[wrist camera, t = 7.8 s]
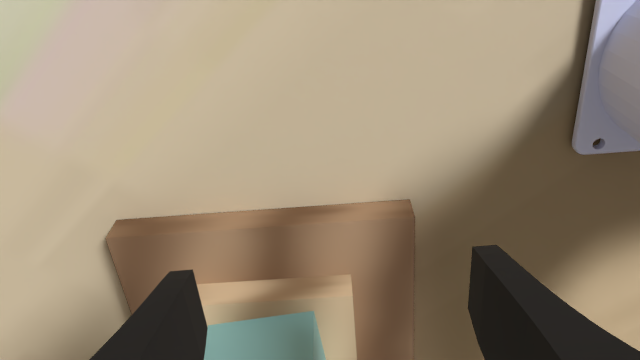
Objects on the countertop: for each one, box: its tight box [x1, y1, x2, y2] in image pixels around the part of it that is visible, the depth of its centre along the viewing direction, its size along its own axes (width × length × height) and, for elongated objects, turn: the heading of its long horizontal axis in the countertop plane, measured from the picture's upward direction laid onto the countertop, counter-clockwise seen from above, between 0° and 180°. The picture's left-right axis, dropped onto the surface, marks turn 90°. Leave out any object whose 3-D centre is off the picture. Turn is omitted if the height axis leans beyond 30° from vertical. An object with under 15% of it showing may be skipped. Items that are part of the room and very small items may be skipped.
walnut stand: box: [105, 200, 415, 360], centre depth 27 cm, size 14×14×3 cm
